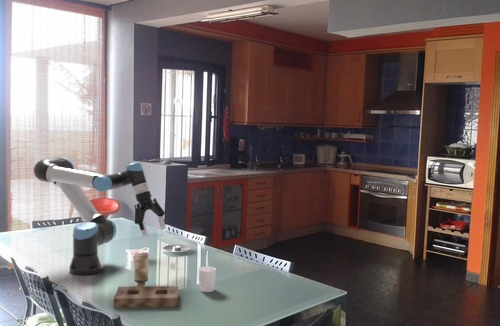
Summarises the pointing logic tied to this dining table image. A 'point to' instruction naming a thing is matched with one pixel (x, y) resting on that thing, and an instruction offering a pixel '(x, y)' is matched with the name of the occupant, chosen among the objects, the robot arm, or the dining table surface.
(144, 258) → the beech peg
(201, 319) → the dining table surface
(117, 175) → the robot arm
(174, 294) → the walnut board
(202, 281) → the white cup
